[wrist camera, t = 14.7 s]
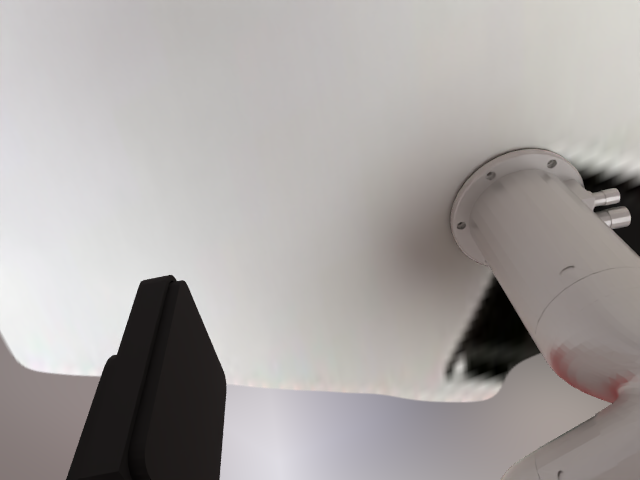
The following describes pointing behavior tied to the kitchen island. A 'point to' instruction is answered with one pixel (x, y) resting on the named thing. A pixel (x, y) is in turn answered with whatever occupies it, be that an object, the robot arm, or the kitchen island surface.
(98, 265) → the kitchen island surface
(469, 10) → the kitchen island surface
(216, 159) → the kitchen island surface
